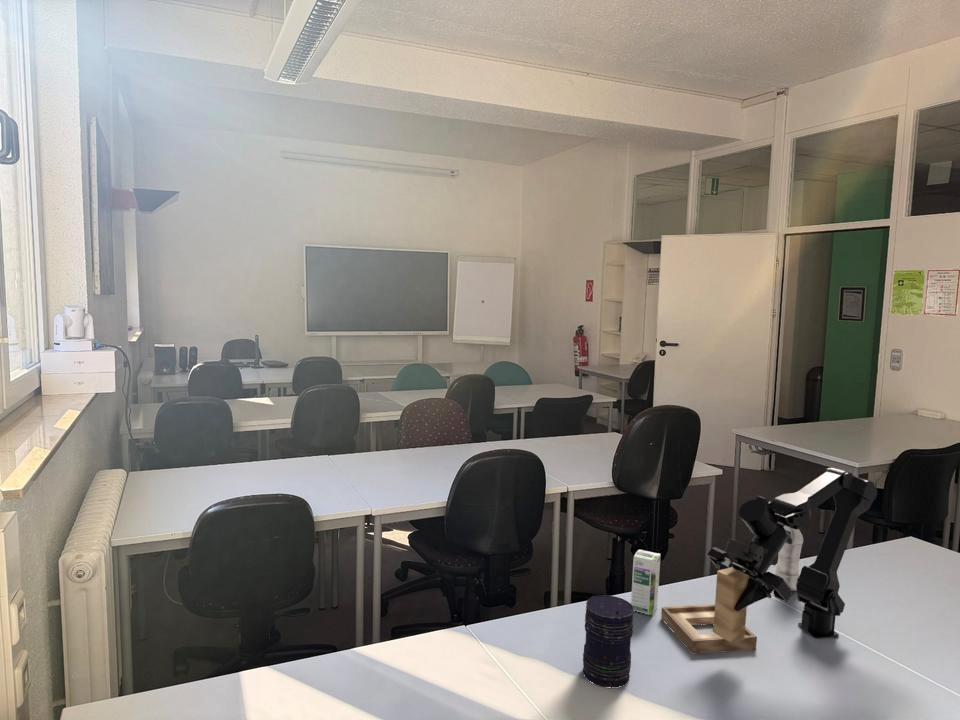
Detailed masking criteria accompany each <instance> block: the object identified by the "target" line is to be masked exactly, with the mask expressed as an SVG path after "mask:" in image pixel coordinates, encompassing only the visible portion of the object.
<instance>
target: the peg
mask: <svg viewBox="0 0 960 720" xmlns="http://www.w3.org/2000/svg"><path fill="white" fill-rule="evenodd" d="M748 579H749V575H747V574H745V573H743V572H741V571H739V570H737V569H735V568H733V567H731V568H727V569H723V570H720V569H719V570H717V571H716V586H715V600H714V604H715V614H714V625H713V630H712V631H713V634H717V635H719V636H720V637H722V638H724V639H725V640H727V641H729V642H732V641H735V640H738V639H741V638H744V637H745V627H746V623H747V622H746V621H747V608H748V606H747V607H745V608H743V609H741V610H739V611H736V610H735V609H734V607H735V605H736V603H737V601H738V600H739V598H740V597H741V595H742V594H743V592H744V591H745V589H746V588H747V585H748Z"/></svg>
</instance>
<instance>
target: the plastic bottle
mask: <svg viewBox="0 0 960 720" xmlns="http://www.w3.org/2000/svg"><path fill="white" fill-rule="evenodd" d="M783 527H784V529H785V530H787V531H790V532H791V538H792V544H788V543H785V544H784V545H783V547H782V548H781V550H780V551H779V553H778V555H777V557H778V558H777V563H776V569H775V572H774V574H775V575H777V576H779V577H781V578H783V579H784V581H785V582H786V583H787V585H788V586H789V587H790V588H791V591H792V592H795V591H797V589H796V583H797V579H798V578H799V576H800V557H801V551H802V547H803V543H804V537H803V533H801V530H800V529H797V530H796V529H793V528H790V527H787V526H785V525H783Z"/></svg>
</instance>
